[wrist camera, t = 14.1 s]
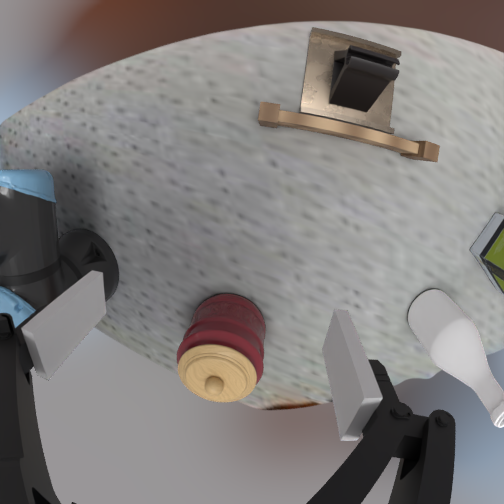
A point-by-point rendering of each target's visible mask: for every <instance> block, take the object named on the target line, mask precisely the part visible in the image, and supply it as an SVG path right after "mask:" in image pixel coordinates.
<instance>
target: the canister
mask: <svg viewBox="0 0 504 504" xmlns="http://www.w3.org/2000/svg"><path fill="white" fill-rule="evenodd" d="M265 330H266V329H265V322H264V319H263V316H262V314H261V312H260V310H259V309H258V308H257V307H256V306H255V305H254V304H253V303H252V302H251V301H249V300H248V299H246V298H244V297H241V296H238V295H234V294H219V295H215V296H212V297H210V298H208V299H207V300H205V301H204V302H203V303H202V304H201V305H200V306H199V307H198V308H197V310H196V311H195V313H194V315H193V318H192V322H191V324H190V327H189V329H188V330H187V331H186V333H185V335H184V338H183V341H182V343H181V344H180V346H179V348H178V351H177V363H178V373H179V376H180V379H181V381H182V382H183V384H184V385H185V386H186V387H187V388H188V389H189V390H190V391H191V392H193V393H194V394H196V395H197V396H199V397H202V398H204V399H207V400H210V401H215V402H232V401H237V400H240V399H242V398H244V397H246V396H247V395H249V394H250V393H251V392H252V390H253V389H254V387H255V385H256V384H257V383H258V382H259V380H260V379H261V377H262V374H263V368H264V367H263V359H264V348H263V347H264V339H265Z"/></svg>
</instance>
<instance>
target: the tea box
mask: <svg viewBox="0 0 504 504" xmlns="http://www.w3.org/2000/svg"><path fill="white" fill-rule="evenodd" d="M470 251H471V252H472V253H473V255H474V256H475V258H476V259H477V260H478V262H479V263H480V265H481V266H482V268H483V269H484V271H485V272H486V274H487V275H488V277H489V278H490V280H491V282H492V283H493V285H494V286H495V288H496V289H497V290H498V291H499V292H500V293H501V294H503V295H504V215H501V214H498V213H495V214H494V215H493V217H492V218H491V220H490V221H489V223H488V224H487V226H486V227H485V229H484V230H483V232H482V233H481V234H480V236H479V237H478V239H477V240H476V241H475V243H474V244H473V246H472V247H471V249H470Z"/></svg>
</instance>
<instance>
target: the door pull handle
mask: <svg viewBox="0 0 504 504" xmlns="http://www.w3.org/2000/svg"><path fill="white" fill-rule="evenodd" d="M258 121H259V123H260V126H265V127H272V128H277V125H278V126H285V127H291V128H297V129H302V130H308V131H313V132H318V133H323V134H328V135H333V136H337V137H342V138H346V139H350V140H355V141H359V142H363V143H367V144H371V145H375V146H378V147H382V148H386V149H389V150H393V151H396V152H400V153H401V156H404V157H407V158H410V159H414V160H423V161H432V162H437V161H438V154H439V148H440V146H439V145H436V144H434V143H431V142H428V141H409V140H406V139H403V138H399V137H396V136H393V135H389V134H386V133H383V132H379V131H375V130H372V129H368V128H364V127H360V126H356V125H352V124H348V123H344V122H339V121H335V120H330V119H326V118H321V117H316V116H311V115H305V114H300V113H294V112H288V111H282V110H280V104H274V103H267V102H261V103H260V110H259V117H258Z"/></svg>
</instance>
